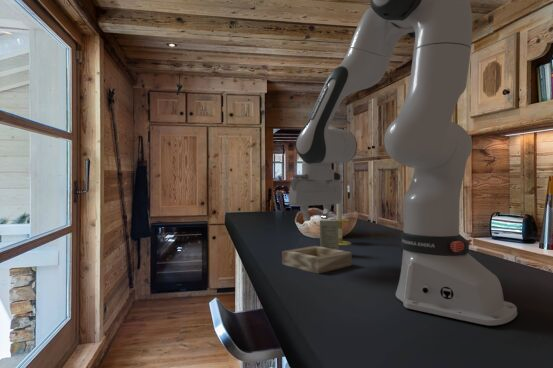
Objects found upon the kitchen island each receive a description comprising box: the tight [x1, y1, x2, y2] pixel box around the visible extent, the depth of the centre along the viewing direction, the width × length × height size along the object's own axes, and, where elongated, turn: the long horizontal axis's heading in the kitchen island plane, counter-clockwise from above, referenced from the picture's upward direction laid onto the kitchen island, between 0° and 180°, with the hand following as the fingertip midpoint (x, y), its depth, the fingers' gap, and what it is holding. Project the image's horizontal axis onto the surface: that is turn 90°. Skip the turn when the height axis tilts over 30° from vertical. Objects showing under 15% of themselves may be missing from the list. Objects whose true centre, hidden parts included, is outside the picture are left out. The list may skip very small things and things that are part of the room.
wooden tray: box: [281, 245, 353, 274], centre depth 108 cm, size 15×15×4 cm
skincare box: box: [319, 219, 340, 250], centre depth 124 cm, size 6×4×12 cm
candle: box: [328, 181, 352, 246], centre depth 146 cm, size 10×10×27 cm
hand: (315, 219), depth 108 cm, fingers open, 7 cm apart
